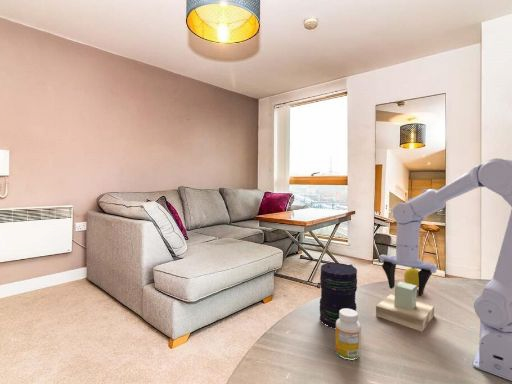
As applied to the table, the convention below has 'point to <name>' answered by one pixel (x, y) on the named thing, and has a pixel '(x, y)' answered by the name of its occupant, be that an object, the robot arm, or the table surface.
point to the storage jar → (336, 291)
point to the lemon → (412, 276)
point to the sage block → (405, 296)
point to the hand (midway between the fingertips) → (405, 291)
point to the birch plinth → (405, 313)
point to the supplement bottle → (348, 334)
